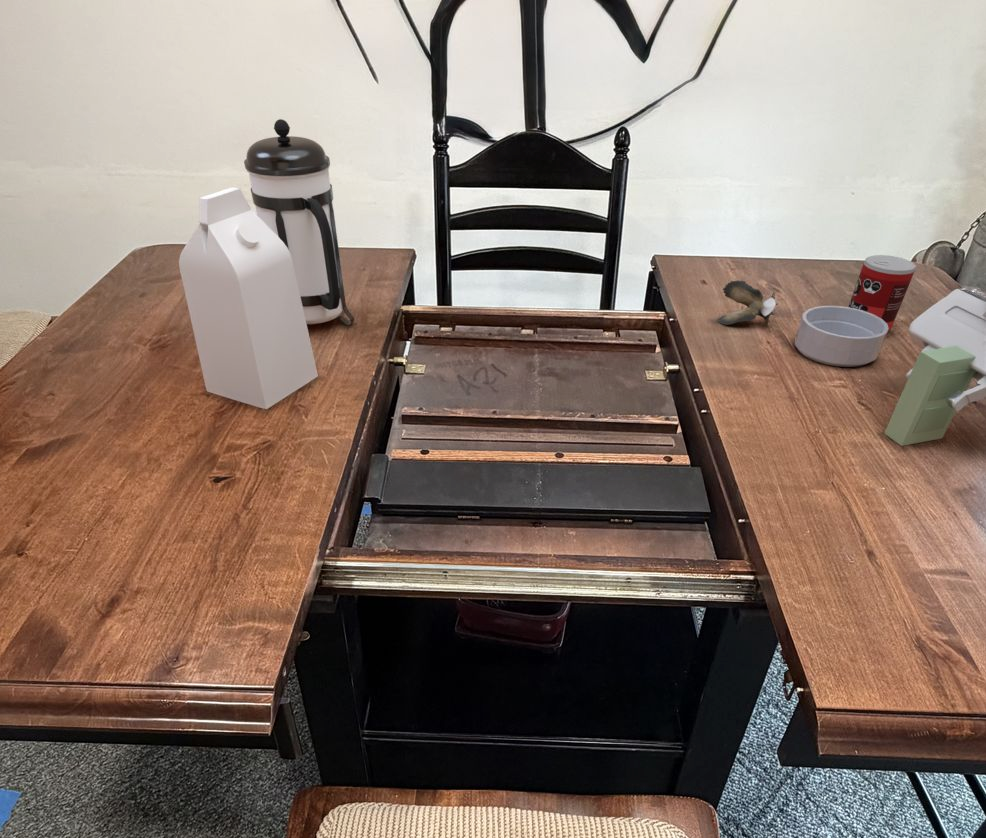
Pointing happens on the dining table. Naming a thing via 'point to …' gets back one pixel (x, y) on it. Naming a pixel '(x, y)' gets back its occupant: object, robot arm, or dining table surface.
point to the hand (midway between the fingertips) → (930, 393)
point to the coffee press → (301, 216)
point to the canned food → (882, 286)
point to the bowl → (840, 335)
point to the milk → (244, 305)
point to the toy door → (930, 395)
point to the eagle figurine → (747, 303)
